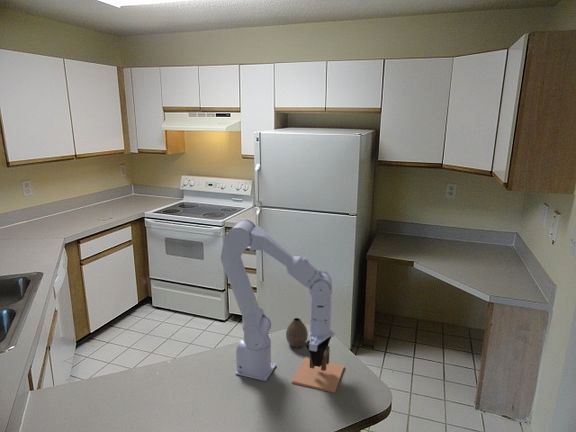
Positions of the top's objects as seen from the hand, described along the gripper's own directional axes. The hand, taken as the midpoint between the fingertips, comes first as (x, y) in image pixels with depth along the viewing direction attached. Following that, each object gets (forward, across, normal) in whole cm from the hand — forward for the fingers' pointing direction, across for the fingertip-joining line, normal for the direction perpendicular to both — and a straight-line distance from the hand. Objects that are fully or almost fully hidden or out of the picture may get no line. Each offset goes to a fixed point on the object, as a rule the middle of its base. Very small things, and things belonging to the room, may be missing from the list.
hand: (319, 360), depth 112 cm
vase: (+5, +13, +11) cm, 18 cm away
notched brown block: (+1, 0, 0) cm, 1 cm away
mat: (+5, 0, 0) cm, 5 cm away
